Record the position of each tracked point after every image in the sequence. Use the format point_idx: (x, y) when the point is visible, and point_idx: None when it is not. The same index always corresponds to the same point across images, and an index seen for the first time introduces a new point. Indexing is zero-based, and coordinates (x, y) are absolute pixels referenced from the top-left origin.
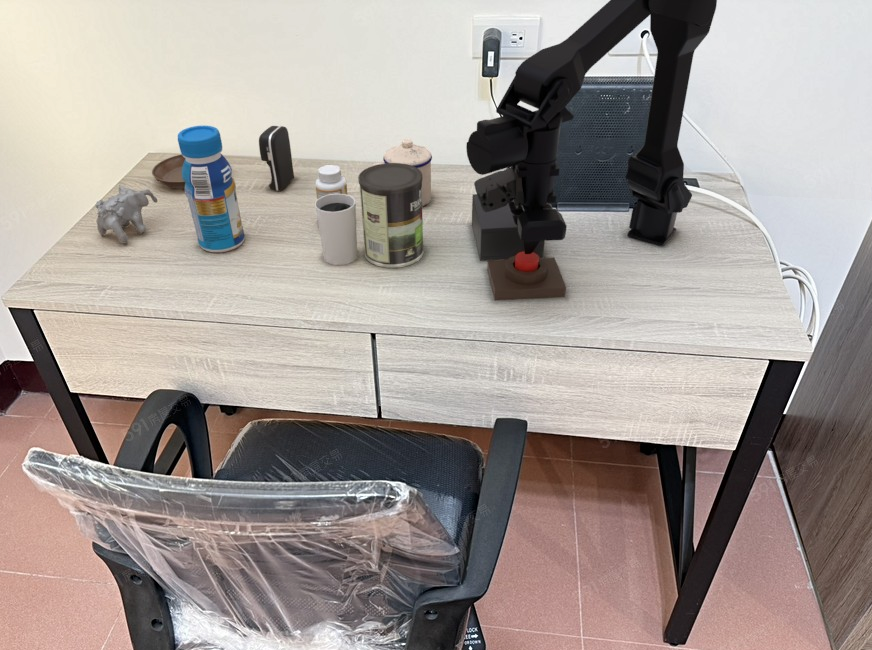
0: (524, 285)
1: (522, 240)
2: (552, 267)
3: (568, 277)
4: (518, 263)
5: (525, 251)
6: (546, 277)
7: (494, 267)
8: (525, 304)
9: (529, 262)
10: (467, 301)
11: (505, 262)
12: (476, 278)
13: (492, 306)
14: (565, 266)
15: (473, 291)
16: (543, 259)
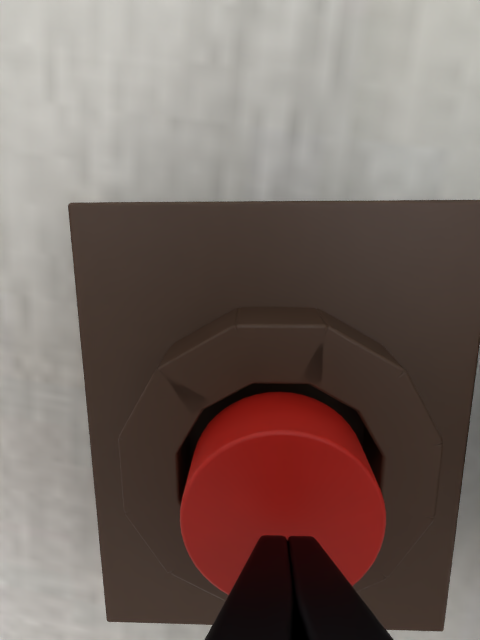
0: (128, 408)
1: (340, 624)
2: None
3: None
4: (225, 433)
5: (250, 559)
6: None
7: (382, 241)
8: (66, 374)
9: (187, 527)
10: (96, 19)
11: (439, 332)
12: (372, 115)
13: (42, 184)
14: None
15: (214, 76)
16: None
